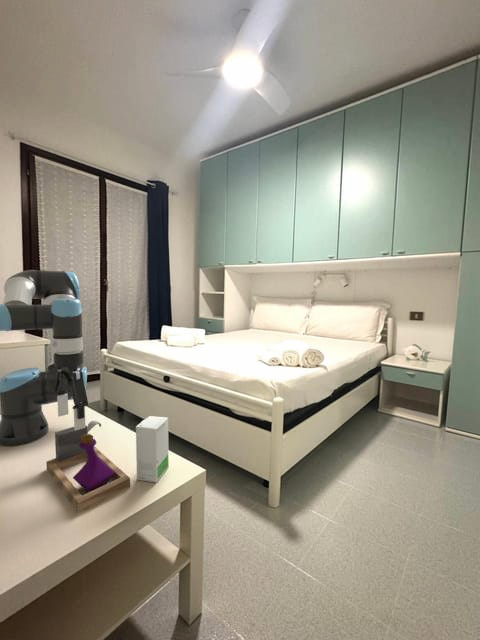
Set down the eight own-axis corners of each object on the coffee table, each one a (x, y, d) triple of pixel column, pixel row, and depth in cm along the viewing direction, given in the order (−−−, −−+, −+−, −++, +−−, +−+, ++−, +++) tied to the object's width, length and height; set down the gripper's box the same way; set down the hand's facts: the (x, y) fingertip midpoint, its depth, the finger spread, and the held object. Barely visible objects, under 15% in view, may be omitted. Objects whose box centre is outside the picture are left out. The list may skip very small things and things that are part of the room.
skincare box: (156, 483, 82) (156, 429, 80) (134, 480, 83) (133, 426, 81) (169, 466, 90) (169, 416, 88) (149, 463, 91) (149, 414, 90)
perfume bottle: (89, 500, 75) (87, 432, 73) (73, 488, 79) (70, 424, 77) (115, 483, 81) (114, 420, 79) (99, 474, 85) (97, 414, 83)
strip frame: (46, 469, 87) (45, 435, 86) (92, 452, 97) (91, 421, 95) (78, 512, 71) (77, 471, 70) (130, 486, 80) (129, 449, 79)
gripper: (40, 347, 93) (44, 413, 95) (70, 360, 76) (73, 440, 78) (67, 344, 98) (69, 406, 100) (99, 356, 82) (102, 430, 84)
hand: (71, 421), depth 89 cm, fingers open, 13 cm apart
